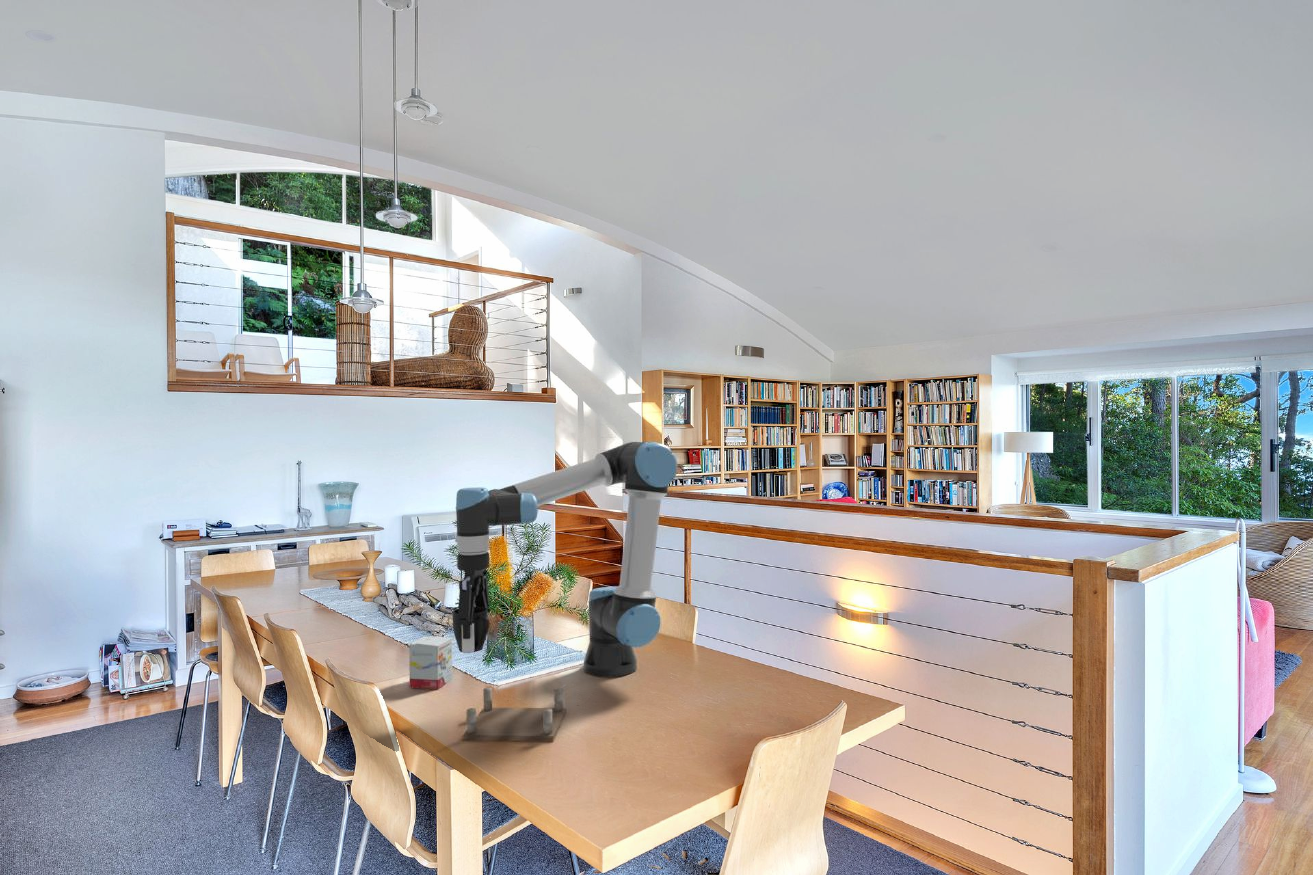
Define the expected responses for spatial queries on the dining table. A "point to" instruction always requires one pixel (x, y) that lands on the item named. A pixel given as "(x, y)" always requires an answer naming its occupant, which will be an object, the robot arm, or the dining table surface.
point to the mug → (479, 628)
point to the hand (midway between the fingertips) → (475, 645)
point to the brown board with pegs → (514, 721)
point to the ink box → (430, 662)
